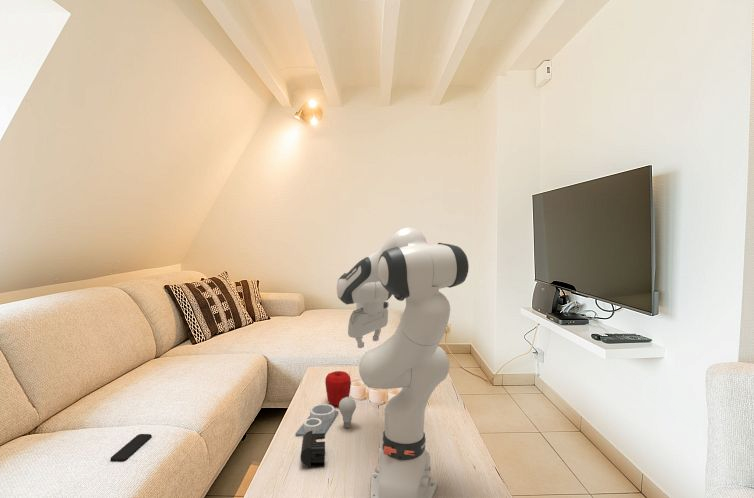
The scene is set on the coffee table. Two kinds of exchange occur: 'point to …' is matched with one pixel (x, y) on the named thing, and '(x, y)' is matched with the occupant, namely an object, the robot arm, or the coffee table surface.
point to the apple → (337, 386)
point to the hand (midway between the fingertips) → (368, 344)
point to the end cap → (313, 450)
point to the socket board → (318, 420)
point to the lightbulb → (347, 410)
